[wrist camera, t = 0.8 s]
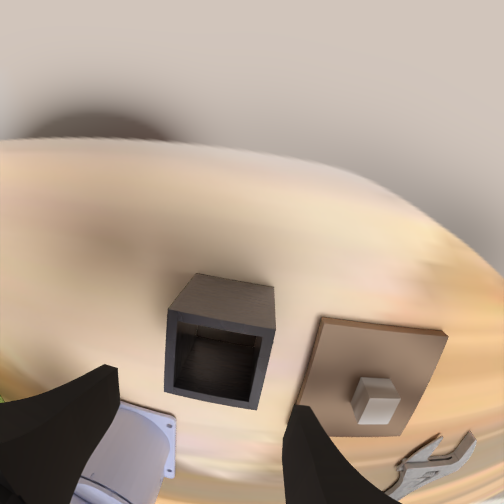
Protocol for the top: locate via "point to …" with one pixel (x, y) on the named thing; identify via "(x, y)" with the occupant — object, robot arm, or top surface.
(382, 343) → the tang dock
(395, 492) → the adjustable wrench
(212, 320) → the hollow square tube
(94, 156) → the top surface
